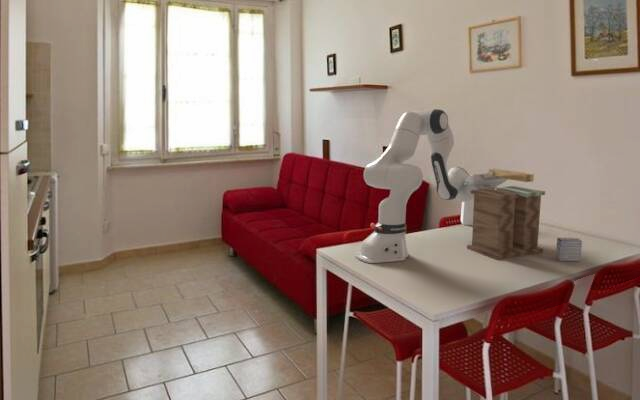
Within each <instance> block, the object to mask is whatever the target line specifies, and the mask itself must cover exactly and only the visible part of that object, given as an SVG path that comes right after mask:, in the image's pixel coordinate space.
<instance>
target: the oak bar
mask: <svg viewBox="0 0 640 400" xmlns="http://www.w3.org/2000/svg"><path fill="white" fill-rule="evenodd" d="M491 171H494V173H495V175H494V176H492V177H498V178H504V179H508V180H512V181H516V182H517V181H518V182H522V183H523V182H524V183H531V182H532V183H533V182H534V176H535V174H534V173H526V172H520V171H515V170H514V171H513V170H506V169H500V168H499V169H498V168H490V169H488V173H489V172H491Z"/></svg>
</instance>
